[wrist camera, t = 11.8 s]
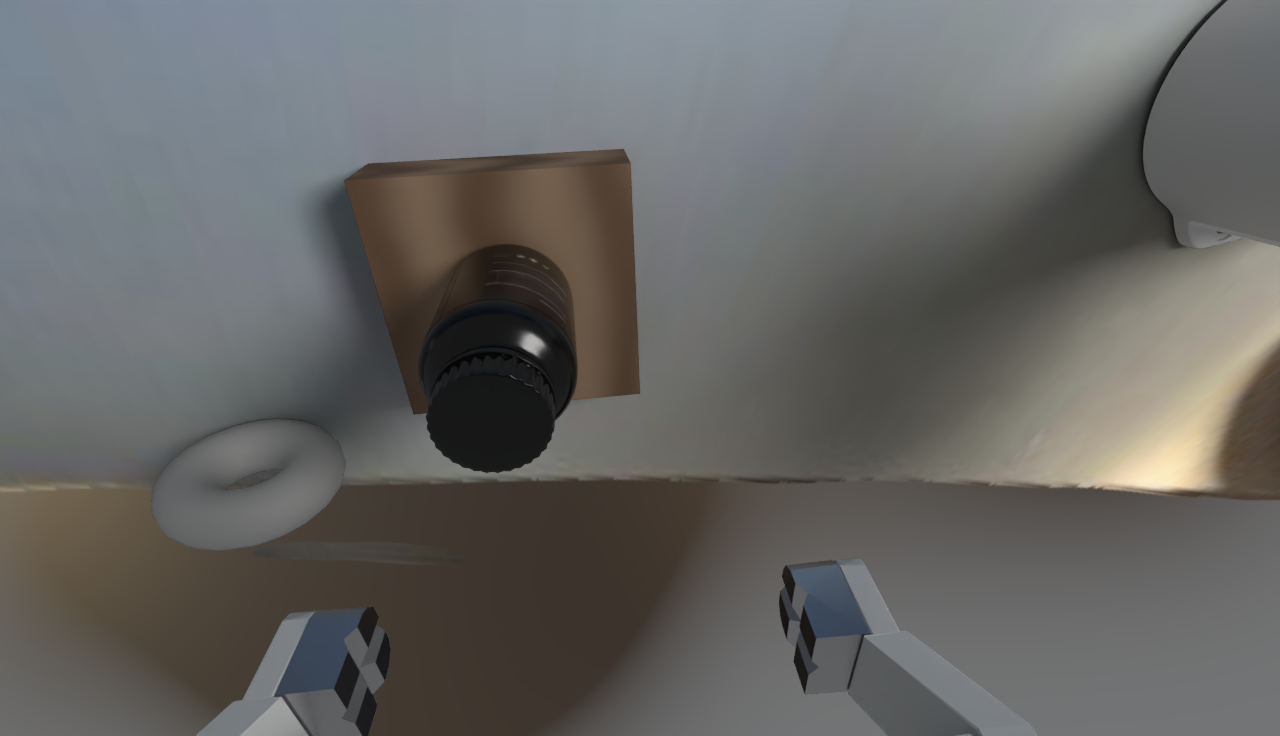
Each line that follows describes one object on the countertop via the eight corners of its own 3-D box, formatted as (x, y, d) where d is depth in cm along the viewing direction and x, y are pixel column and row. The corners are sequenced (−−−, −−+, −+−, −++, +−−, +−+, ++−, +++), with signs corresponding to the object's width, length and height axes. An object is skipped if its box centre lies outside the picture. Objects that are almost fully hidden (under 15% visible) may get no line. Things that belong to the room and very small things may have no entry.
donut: (217, 450, 39) (120, 567, 31) (201, 409, 37) (94, 521, 29) (369, 447, 40) (317, 559, 32) (361, 408, 39) (303, 515, 30)
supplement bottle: (547, 367, 34) (540, 512, 24) (433, 327, 32) (372, 468, 22) (594, 268, 31) (608, 386, 21) (472, 217, 29) (422, 320, 19)
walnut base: (623, 149, 32) (630, 163, 29) (633, 361, 39) (640, 393, 36) (368, 163, 31) (344, 180, 27) (427, 380, 38) (413, 414, 35)
